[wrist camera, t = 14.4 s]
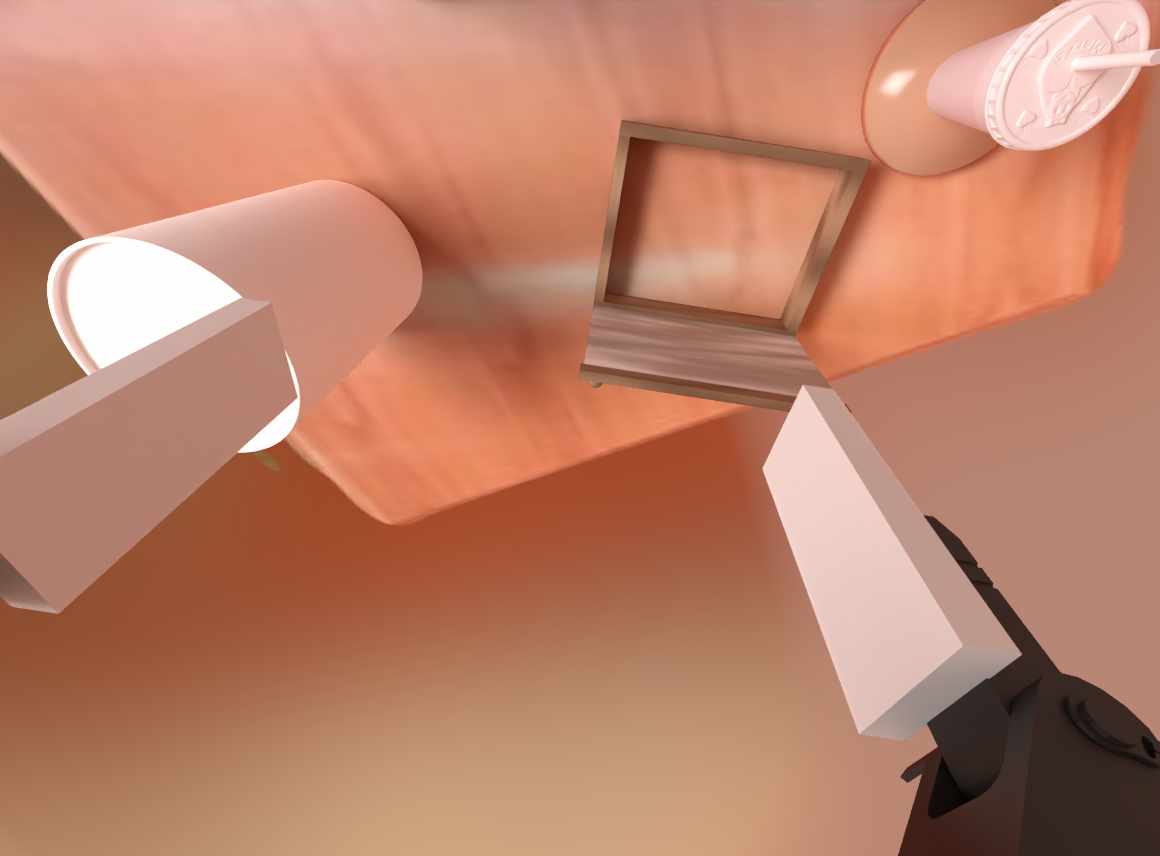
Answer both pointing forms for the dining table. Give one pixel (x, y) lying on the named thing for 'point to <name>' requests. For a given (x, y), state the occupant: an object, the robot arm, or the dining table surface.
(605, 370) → the box
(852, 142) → the dining table surface
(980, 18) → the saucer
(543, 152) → the dining table surface
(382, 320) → the canister
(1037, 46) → the smoothie
